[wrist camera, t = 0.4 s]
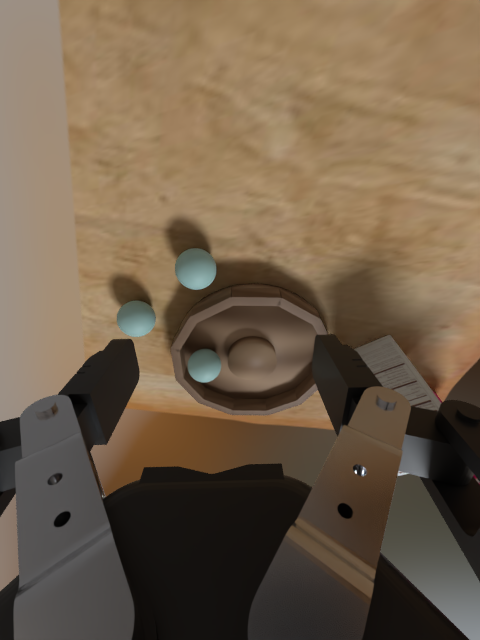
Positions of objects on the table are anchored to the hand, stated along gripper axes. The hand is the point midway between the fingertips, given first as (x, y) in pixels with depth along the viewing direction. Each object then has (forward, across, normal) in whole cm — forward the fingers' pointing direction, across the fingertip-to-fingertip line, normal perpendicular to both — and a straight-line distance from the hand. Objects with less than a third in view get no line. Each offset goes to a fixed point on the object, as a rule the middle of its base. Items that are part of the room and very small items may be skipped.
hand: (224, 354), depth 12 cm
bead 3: (+17, +4, +12) cm, 21 cm away
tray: (+20, -2, +12) cm, 23 cm away
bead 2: (+16, +3, 0) cm, 16 cm away
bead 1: (+17, +11, +6) cm, 21 cm away
